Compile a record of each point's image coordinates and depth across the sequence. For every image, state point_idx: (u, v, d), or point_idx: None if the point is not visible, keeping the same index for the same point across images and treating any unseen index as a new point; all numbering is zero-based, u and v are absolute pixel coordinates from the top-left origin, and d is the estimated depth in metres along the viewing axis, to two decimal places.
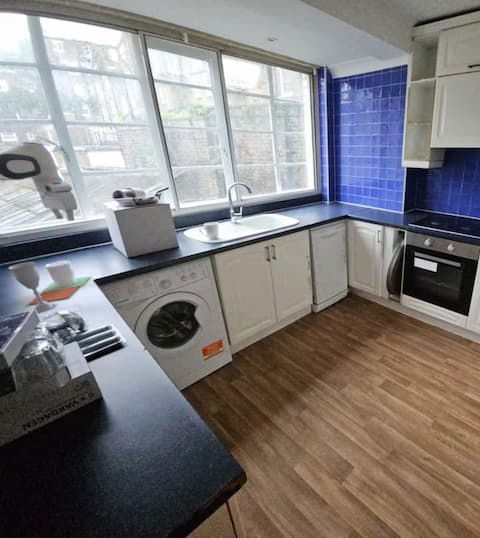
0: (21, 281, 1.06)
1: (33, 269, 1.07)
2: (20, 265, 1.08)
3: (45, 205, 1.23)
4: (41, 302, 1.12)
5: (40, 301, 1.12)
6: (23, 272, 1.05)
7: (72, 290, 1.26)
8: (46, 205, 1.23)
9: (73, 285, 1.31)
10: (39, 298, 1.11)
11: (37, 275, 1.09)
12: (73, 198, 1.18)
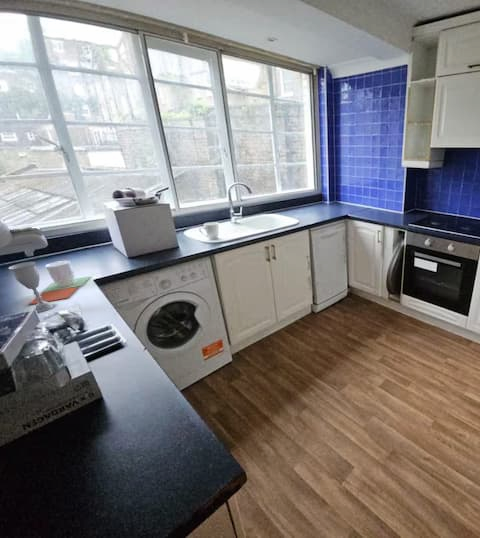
0: (21, 281, 1.06)
1: (33, 269, 1.07)
2: (20, 265, 1.08)
3: None
4: (41, 302, 1.12)
5: (40, 301, 1.12)
6: (23, 272, 1.05)
7: (72, 290, 1.26)
8: None
9: (73, 285, 1.31)
10: (39, 298, 1.11)
11: (37, 275, 1.09)
12: None
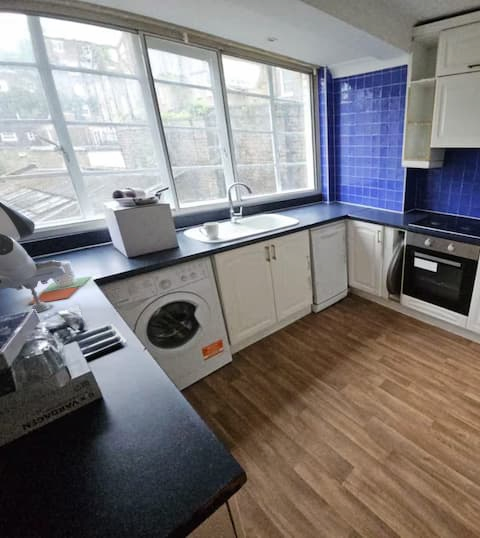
0: None
1: None
2: None
3: None
4: (38, 302, 1.11)
5: (37, 301, 1.11)
6: None
7: (72, 290, 1.26)
8: None
9: (73, 285, 1.31)
10: (36, 298, 1.11)
11: None
12: None
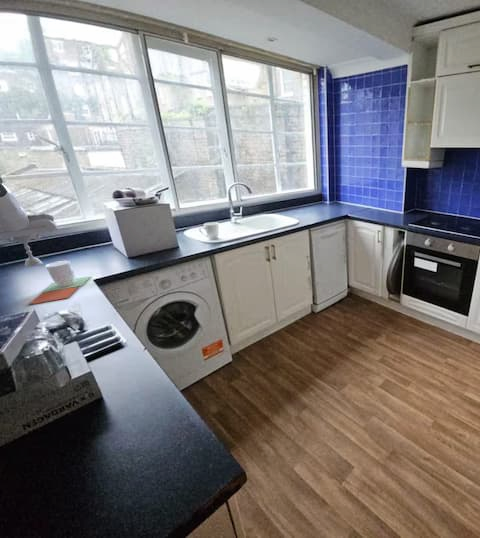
0: None
1: None
2: None
3: None
4: (31, 257, 1.14)
5: (30, 256, 1.13)
6: None
7: (72, 290, 1.26)
8: None
9: (73, 285, 1.31)
10: (29, 253, 1.13)
11: None
12: None
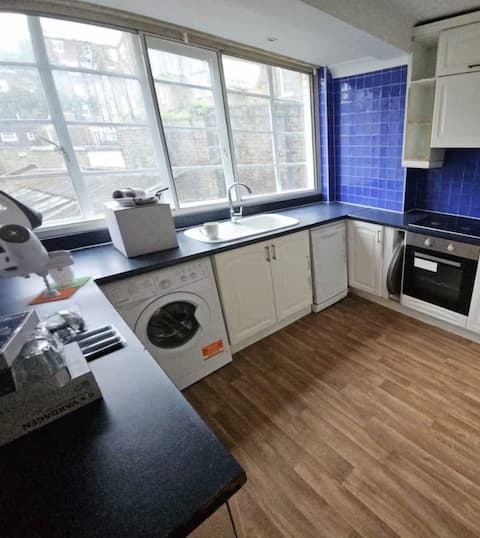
0: None
1: None
2: None
3: None
4: (50, 289, 1.21)
5: (49, 288, 1.21)
6: None
7: (72, 290, 1.26)
8: None
9: (73, 285, 1.31)
10: (48, 285, 1.20)
11: None
12: None
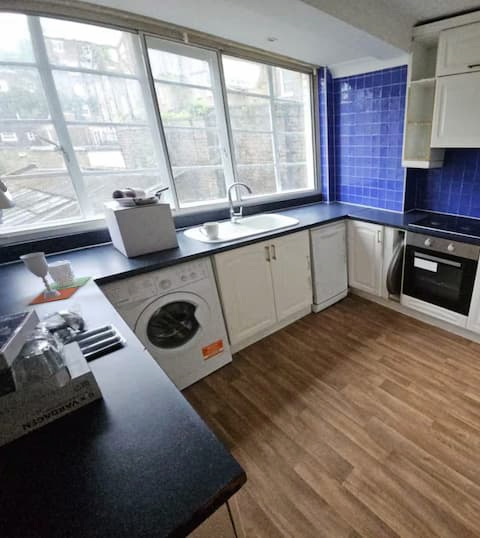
0: (31, 270, 1.15)
1: (42, 259, 1.16)
2: (30, 255, 1.17)
3: None
4: (49, 290, 1.21)
5: (48, 289, 1.21)
6: (33, 261, 1.14)
7: (72, 290, 1.26)
8: None
9: (73, 285, 1.31)
10: (47, 286, 1.20)
11: (46, 264, 1.18)
12: None
